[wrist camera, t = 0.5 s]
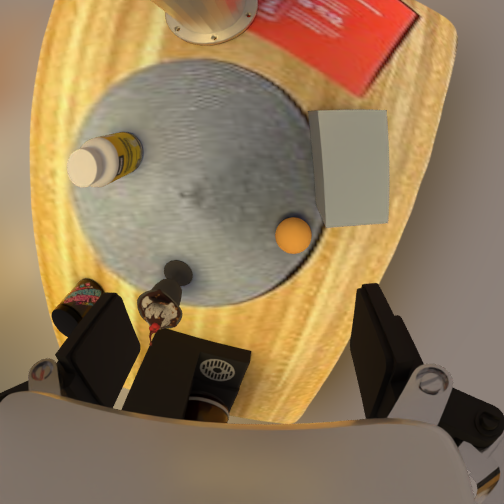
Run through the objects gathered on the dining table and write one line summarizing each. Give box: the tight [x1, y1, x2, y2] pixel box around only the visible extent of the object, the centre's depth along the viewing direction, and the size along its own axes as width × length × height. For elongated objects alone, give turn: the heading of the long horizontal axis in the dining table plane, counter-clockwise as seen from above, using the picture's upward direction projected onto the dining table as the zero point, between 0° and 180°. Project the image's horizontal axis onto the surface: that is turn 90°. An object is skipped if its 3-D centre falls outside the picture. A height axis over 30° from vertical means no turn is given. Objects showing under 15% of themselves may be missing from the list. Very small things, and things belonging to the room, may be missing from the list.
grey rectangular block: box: [308, 110, 389, 228], centre depth 33 cm, size 13×8×9 cm, turn 8°
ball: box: [275, 217, 311, 254], centre depth 40 cm, size 5×5×5 cm
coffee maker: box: [122, 328, 251, 423], centre depth 45 cm, size 28×20×35 cm
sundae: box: [137, 260, 192, 346], centre depth 41 cm, size 7×7×15 cm
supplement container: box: [52, 279, 103, 337], centre depth 47 cm, size 7×7×10 cm
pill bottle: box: [67, 132, 142, 187], centre depth 34 cm, size 6×6×12 cm
